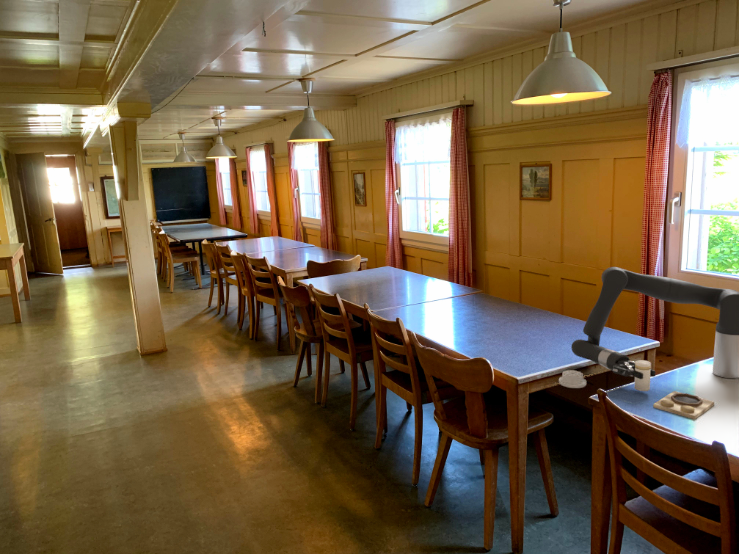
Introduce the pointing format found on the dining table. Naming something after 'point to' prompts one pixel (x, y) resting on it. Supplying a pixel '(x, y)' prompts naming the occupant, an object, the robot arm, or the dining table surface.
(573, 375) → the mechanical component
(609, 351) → the robot arm
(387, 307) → the dining table surface
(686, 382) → the dining table surface
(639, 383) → the cylinder
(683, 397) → the board
